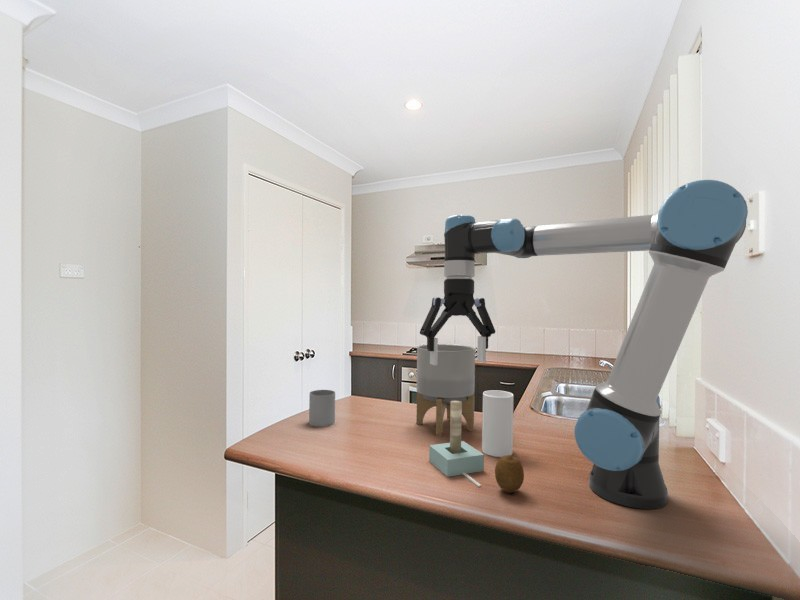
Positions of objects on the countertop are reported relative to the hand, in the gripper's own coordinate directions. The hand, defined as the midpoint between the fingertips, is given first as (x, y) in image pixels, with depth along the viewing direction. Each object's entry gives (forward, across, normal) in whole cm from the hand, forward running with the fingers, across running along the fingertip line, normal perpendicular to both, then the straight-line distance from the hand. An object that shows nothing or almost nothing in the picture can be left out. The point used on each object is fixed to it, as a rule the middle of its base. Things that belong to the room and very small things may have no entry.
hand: (458, 363), depth 103 cm
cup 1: (+26, +25, -46) cm, 58 cm away
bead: (+26, 0, 0) cm, 26 cm away
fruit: (+26, -4, +16) cm, 31 cm away
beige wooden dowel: (+26, 0, 0) cm, 26 cm away
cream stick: (+26, +1, +8) cm, 27 cm away
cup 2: (+26, -16, -5) cm, 31 cm away
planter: (+26, -12, -29) cm, 41 cm away
